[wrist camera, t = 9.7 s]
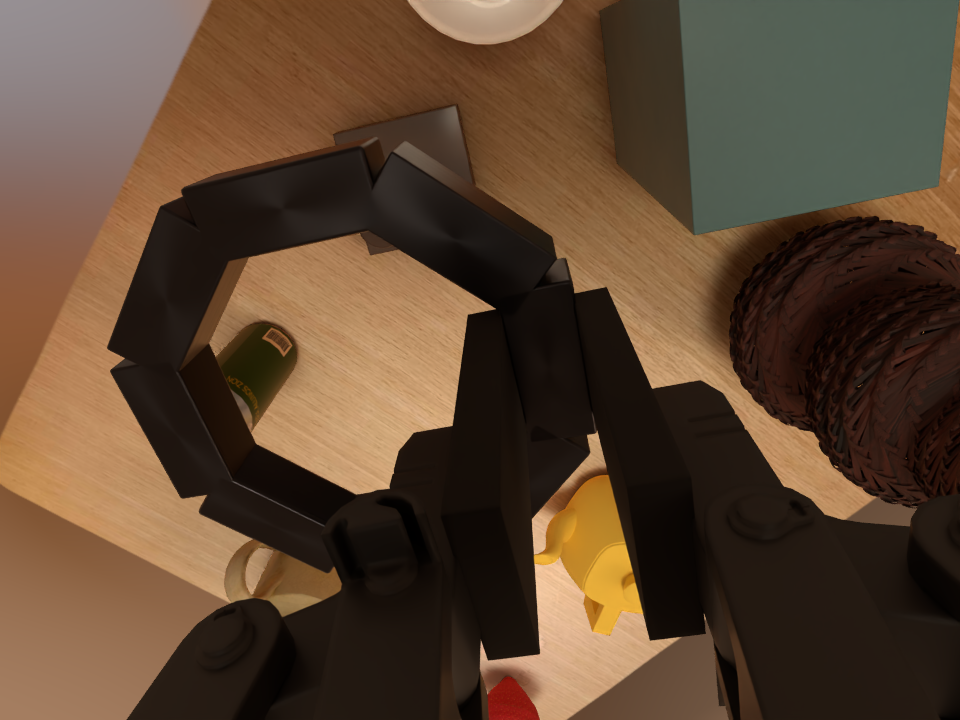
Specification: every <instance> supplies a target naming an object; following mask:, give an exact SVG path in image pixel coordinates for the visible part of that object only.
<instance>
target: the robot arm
mask: <svg viewBox="0 0 960 720" xmlns="http://www.w3.org/2000/svg"><path fill="white" fill-rule="evenodd" d="M575 300H576V303H575V310H576V316H577V322H578V328H579V333H580V339H581V345H582V351H583V357H584V363H585V369H586V374H587V380H588V386H589V392H590V398H591V404H592V410H593V415H594V419H595V423H596V427H597V431H598V435H599V439H600V443H601V447H602V451H603V455H604V459H605V463H606V467H607V471H608V475H609V479H610V483H611V487H612V491H613V495H614V499H615V503H616V507H617V511H618V515H619V519H620V523H621V527H622V531H623V535H624V539H625V543H626V547H627V551H628V555H629V559H630V563H631V567H632V571H633V575H634V579H635V583H636V587H637V591H638V595H639V599H640V603H641V607H642V611H643V615H644V619H645V623H646V627H647V631H648V635H649V639H650V641H651V640H659V639H668V638H676V637H684V636H692V635H700V634H706V632H705V621H704V614H705V617H706V620H707V623H708V626H709V628H710V631H711V634H712V637H713V639H714V651H715V663H716V674H717V686H718V699H719V706H726V710H727V714H728V718H729V720H960V494H955V495H947V496H938V497H936V498H934V499H932V500H929V501H927V502H925V503H923V504H921V505H919V507H918V508H917V510H916V511H915V513H914V515H913V516H912V518H911V524H910V527H908V526H896V525H884V524H871V523H860V522H854V521H847V520H841V519H838V518H834V517H831V516H828V515H824V513H823V512H822V511H821V510H820V509H819V508H818V507H817V506H816V504H815V503H814V502H813V501H812V500H811V499H810V498H808V497H806V496H804V495H802V494H800V493H799V492H797V491H795V490H793V489H791V488H787V487H784V486H783V485H782V483H781V482H780V480H779V479H778V477H777V476H776V474H775V472H774V471H773V469H772V468H771V466H770V465H769V463H768V462H767V460H766V459H765V457H764V456H763V454H762V452H761V451H760V449H759V448H758V446H757V445H756V443H755V442H754V440H753V439H752V437H751V436H750V434H749V433H748V431H747V430H745V428H744V425H743V423H742V422H741V420H740V419H739V417H738V416H737V414H736V415H735V412H734V409H733V408H732V406H731V405H730V403H729V402H728V400H727V399H726V397H725V396H724V394H723V393H722V392H720V391H718V390H717V389H715V388H713V387H711V386H710V385H708V384H706V383H705V382H703V381H701V380H699V381H694V382H688V383H682V384H677V385H671V386H665V387H660V388H654V389H652V388H651V385H650V383H649V381H648V379H647V376H646V374H645V372H644V370H643V367H642V365H641V363H640V361H639V358H638V356H637V354H636V352H635V349H634V347H633V345H632V343H631V341H630V338H629V336H628V334H627V332H626V329H625V327H624V325H623V323H622V320H621V318H620V316H619V314H618V311H617V309H616V307H615V305H614V302H613V300H612V298H611V296H610V293H609V291H608V289H607V287H605V288H600V289H595V290H590V291H585V292H580V293H575ZM320 536H321V538H322V541H323V543H324V545H325V547H326V549H327V552H328V554H329V556H330V558H331V560H332V563H333V565H334V567H335V569H336V572H337V574H338V576H339V578H340V580H341V583H342V585H341V590H340V591H339V592H337V593H336V594H334V595H332V596H330V597H328V598H326V599H324V600H322V601H320V602H318V603H315V604H313V605H311V606H308V607H306V608H303V609H301V610H298V611H296V612H294V613H291V614H289V615H286V616H284V617H282V616H281V614H280V612H279V610H278V609H277V608H276V607H275V606H274V605H273V604H272V603H271V602H270V601H268V600H263V599H258V598H250V599H244V600H239V601H235V602H233V603H231V604H228V605H226V606H224V607H222V608H220V609H217V610H216V611H214V612H213V613H212V614H210V615H209V616H207V617H206V618H205V619H203V620H202V621H201V622H199V623H198V624H197V625H196V626H195V627H194V628H193V629H192V630H191V632H190V633H189V634H188V635H187V636H186V637H185V638H184V639H183V641H182V642H181V643H180V645H179V646H178V647H177V649H176V650H175V652H174V653H173V655H172V656H171V657H170V659H169V660H168V662H167V663H166V665H165V666H164V667H163V669H162V670H161V672H160V673H159V675H158V676H157V677H156V679H155V680H154V682H153V683H152V685H151V686H150V687H149V689H148V690H147V691H146V693H145V695H144V696H143V697H142V699H141V700H140V701H139V703H138V704H137V706H136V707H135V709H134V710H133V712H132V713H131V714H130V716H129V717H128V719H127V720H489V711H488V695H487V691H486V688H485V684H484V681H483V678H482V675H481V672H480V646H481V641H482V644H483V647H484V650H485V653H486V656H487V659H488V660H497V659H505V658H513V657H521V656H529V655H537V654H540V647H539V631H538V615H537V598H536V582H535V566H534V549H533V533H532V517H531V500H530V484H529V468H528V452H527V435H526V423H525V418H524V414H523V410H522V405H521V401H520V397H519V392H518V388H517V384H516V379H515V375H514V371H513V366H512V362H511V358H510V353H509V349H508V345H507V340H506V336H505V332H504V327H503V323H502V319H501V317H500V313H499V310H497V309H495V310H490V311H485V312H480V313H475V314H470V315H468V318H467V325H466V333H465V340H464V347H463V355H462V362H461V369H460V376H459V384H458V391H457V398H456V405H455V413H454V420H453V426H450V427H444V428H438V429H433V430H427V431H421V432H416V433H413V435H412V436H411V437H410V438H409V440H408V441H407V442H406V443H405V444H404V446H403V447H402V448H401V449H400V450H399V452H398V456H397V460H396V464H395V468H394V474H393V475H392V479H391V483H390V489H384V490H377V491H374V492H371V493H368V494H365V495H362V496H359V497H357V498H356V499H354V500H352V501H351V502H349V503H347V504H346V505H344V506H342V507H341V508H340V509H339V510H338V511H337V512H336V513H335V514H334V515H333V516H332V517H331V518H330V519H329V520H328V521H327V523H326V525H325V527H324V529H323V530H322V532H321V534H320Z"/></svg>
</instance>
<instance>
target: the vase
mask: <svg viewBox="0 0 960 720" xmlns="http://www.w3.org/2000/svg"><path fill="white" fill-rule="evenodd" d="M936 239H937V235H936V234H935V233H932V232H928V231H925V232H924V227H922V226H918V225H908V224H906V223H902V222H893V221H892V220H881V221H879V218H878V217H877V216H873V217H866V218H864V219H862V217H859V216H858V217H850V218H847V219H846V220H845V221H842V220H838V221H835V222H833V223H829V224H825V225H823V226H818V225H816V226H814V227H811V228H809V229H807V230H806V233H804V232H798V233H797V234H795V235H794V236H793V237H791V238H790V240H789V242H787V241H784V242H782V243H781V244H780V245H779V246H778V248H777V249H776V250H775V252H771V253H769V254H767V255H766V257H765V258H764V259H763V261H762V262H761V263H758V264H757V265H756V266H755V267H754V268H753V270H752V271H751V273H750V276H749V277H748V278H746V279H745V280H744V282H743V283H742V285H741V287H740V289H739V292H740V293H739V294H738V295H737V296H736V298H735V300H734V311H732V313H731V315H730V322H731V325H730V329H729V338H730V357H731V360H732V361H733V362H734V363H733V368H734V371H735V373H736V374H737V373H738V374H737V375H738V376H739V378H740V379H741V380H740V382H741V384H742V386H743V387H744V388H745V389H746V390H748V392H749V393H750V394H751V395H752V398H753V399H754V400H755V401H756V402H757V403H758V404H759V405H761V406H763V407H764V409H765V410H766V411H767V413H768V414H769V413H770V414H769V415H770V416H772V417H773V418H776V419H779V420H780V421H781V422H782V423H784V424H786V425H789V424H791V425H790V426H795V427H797V428H798V429H800V430H804V431H811V432H813V433H814V434H815V436H816V437H817V439H818V440H819V441H820V442H819V447H820V449H821V451H822V452H823V453H824V454H825V455H826V456H828V457H829V460H830V462H831V464H832V466H833V467H834V468H835V466H838V468H835V469H837V470H838V471H839V472H842V474H843V475H844V476H845V477H846V478H847V479H848V480H849V481H851V482H852V483H854V484H855V485H857V486H859V485H860V486H859V487H862V488H863V490H864V491H865V492H866V493H868V494H870V495H872V496H876V497H880V498H881V500H883V501H885V502H887V503H891V504H902V505H903V506H906V507H909V508H913V507H910V506H917V507H916V508H918V507H919V505H921V504H923V503H925V502H927V501H929V500H932V499H934V498H936V497H938V496H947V495H955V494H960V255H959V254H955V252H956V248H955V247H952V246H950V245H946V244H945V243H944V242H943V241H939V240H936ZM843 246H848V247H843ZM815 253H816V254H815ZM812 254H814V255H812ZM836 254H837V255H836ZM834 255H835V256H834ZM926 266H927V267H926ZM848 270H849V272H848ZM853 270H854V271H853ZM787 275H788V276H787ZM837 275H838V276H837ZM785 276H787V277H786V278H785ZM851 281H852V283H850V282H851ZM844 284H845V286H844ZM781 289H782V290H781ZM780 290H781V291H780ZM774 294H775V296H774ZM800 295H801V296H800ZM779 300H780V301H779ZM778 301H779V302H778ZM836 301H837V302H836ZM735 302H736V304H735ZM835 302H836V303H835ZM774 305H775V307H774ZM923 331H924V333H923ZM922 333H923V334H922ZM754 345H755V347H754ZM756 369H757V370H756ZM860 385H861V386H860ZM858 386H860V387H858ZM906 458H907V459H906ZM836 461H837V462H838V463H837V462H836ZM834 465H835V466H834ZM861 469H862V470H861ZM892 502H897V503H892ZM909 502H910V503H911V504H910V503H909ZM912 502H915V503H914V504H912Z"/></svg>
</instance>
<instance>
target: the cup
mask: <svg viewBox="0 0 960 720" xmlns="http://www.w3.org/2000/svg"><path fill="white" fill-rule="evenodd" d="M407 1H408V2H409V4H410V5H411V6H412V7H413V9H414V10H415V11H416V12H417V13H418V14H419V15H420V16H421V17H422V19H423V20H425V21H426V22H427V23H429V24H430V25H431V26H432V27H434V28H435V29H436V30H438V31H439V32H441V33H443V34H445V35H447V36H449V37H451V38H454V39H456V40H459V41H463V42H467V43H472V44H498V43H502V42H507V41H512V40H514V39H516V38H518V37H521V36H523V35H525V34H527V33H529V32H531V31H532V30H534V29H535V28H536V27H538V26H539V25H540V24H542V23H543V22H545V21H546V20H547V19H548V18H549V17H550V16H551V14H552V13H553V12H554V11H555V10H556V9H557V8H558V7H559V6H560V5H561V3H562V2H563V0H407Z"/></svg>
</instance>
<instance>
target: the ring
mask: <svg viewBox="0 0 960 720" xmlns="http://www.w3.org/2000/svg"><path fill="white" fill-rule="evenodd" d="M181 193H182V195H183V197H181V198H178V199H176V200H174V201H171V202H169V203H167V204H164V205H162V206H161V207H160V208H159V210H158V213H157V216H156V218H155V221H154V224H153V226H152V229H151V232H150V234H149V237H148V240H147V242H146V245H145V248H144V250H143V253H142V256H141V258H140V261H139V264H138V266H137V269H136V272H135V274H134V277H133V280H132V282H131V285H130V288H129V290H128V293H127V296H126V298H125V301H124V304H123V306H122V309H121V312H120V314H119V317H118V320H117V322H116V325H115V328H114V330H113V333H112V336H111V338H110V341H109V344H108V346H107V349H108V350H110V351H112V352H114V353H116V354H118V355H120V356H122V357H124V358H125V359H124V360H123V361H121V362H120V363H119V364H118V365H116V366H115V367H114V368H112V369H111V370H110V372H111V374H112V376H113V378H114V380H115V382H116V383H117V385H118V387H119V389H120V390H121V392H122V394H123V396H124V398H125V399H126V401H127V403H128V405H129V407H130V408H131V410H132V412H133V414H134V415H135V417H136V419H137V421H138V423H139V424H140V426H141V428H142V430H143V432H144V433H145V435H146V437H147V439H148V440H149V442H150V444H151V446H152V448H153V449H154V451H155V453H156V455H157V457H158V458H159V460H160V462H161V464H162V465H163V467H164V469H165V471H166V473H167V474H168V476H169V478H170V480H171V482H172V483H173V485H174V487H175V489H176V490H177V492H178V494H179V496H180V497H181V498H182V499H184V498H190V497H196V496H203V495H207V496H206V498H205V500H204V501H203V503H202V505H201V507H200V509H199V513H200V514H201V515H203V516H205V517H207V518H209V519H212V520H214V521H216V522H218V523H220V524H222V525H224V526H226V527H229V528H231V529H233V530H235V531H237V532H239V533H241V534H243V535H246V536H248V537H250V538H252V539H254V540H256V541H258V542H260V543H263V544H265V545H267V546H269V547H271V548H273V549H275V550H277V551H280V552H282V553H284V554H286V555H288V556H290V557H292V558H294V559H297V560H299V561H301V562H303V563H305V564H307V565H309V566H311V567H314V568H316V569H318V570H320V571H322V572H324V573H327V574H328V573H330V572H331V571H332V569H333V568H334V565H333V563H332V560H331V558H330V556H329V554H328V552H327V549H326V547H325V545H324V543H323V541H322V538H321V536H320V534H321V532H322V530H323V529H324V527H325V525H326V523H327V521H328V520H329V519H330V518H331V517H332V516H333V515H334V514H335V513H336V512H337V511H338V510H339V509H340V508H341V507H342V506H344V505H346V504H347V503H349V502H351V501H352V500H354V499H356V498H357V497H359V496H362V495H365V494H368V493H364V494H357V495H356V494H354V493H352V492H350V491H348V490H346V489H344V488H342V487H340V486H338V485H336V484H334V483H332V482H330V481H328V480H326V479H324V478H322V477H320V476H318V475H316V474H315V473H313V472H311V471H309V470H307V469H305V468H303V467H301V466H299V465H297V464H295V463H293V462H291V461H289V460H287V459H285V458H283V457H281V456H279V455H277V454H275V453H273V452H271V451H269V450H267V449H265V448H263V447H261V446H259V445H257V444H256V443H255V440H254V438H253V436H252V434H251V432H250V430H249V428H248V425H247V423H246V421H245V419H244V417H243V415H242V413H241V411H240V408H239V406H238V404H237V402H236V400H235V398H234V396H233V393H232V391H231V389H230V387H229V385H228V383H227V381H226V378H225V376H224V374H223V372H222V370H221V368H220V366H219V363H218V361H217V359H216V357H215V355H214V353H213V351H212V348H211V346H210V344H209V342H210V340H211V338H212V336H213V333H214V331H215V329H216V327H217V325H218V323H219V321H220V318H221V316H222V314H223V312H224V310H225V308H226V306H227V303H228V301H229V299H230V297H231V295H232V293H233V290H234V288H235V286H236V284H237V282H238V280H239V278H240V275H241V273H242V271H243V269H244V267H245V265H246V263H247V260H248V258H249V257H253V256H257V255H262V254H266V253H271V252H276V251H280V250H285V249H289V248H294V247H299V246H303V245H308V244H313V243H317V242H322V241H326V240H331V239H336V238H340V237H345V236H349V235H354V234H359V233H363V232H368V231H369V232H371V233H373V234H374V235H376V236H378V237H379V238H381V239H383V240H384V241H386V242H388V243H389V244H391V245H392V246H394V247H396V248H397V249H399V250H401V251H402V252H404V253H406V254H407V255H409V256H410V257H412V258H414V259H415V260H417V261H419V262H420V263H422V264H424V265H425V266H427V267H428V268H430V269H432V270H433V271H435V272H437V273H438V274H440V275H442V276H443V277H445V278H447V279H448V280H450V281H451V282H453V283H455V284H456V285H458V286H460V287H461V288H463V289H465V290H466V291H468V292H469V293H471V294H473V295H474V296H476V297H478V298H479V299H481V300H483V301H484V302H486V303H487V304H489V305H491V306H492V307H494V308H496V309H497V310H499V313H500V317H501V319H502V323H503V327H504V332H505V336H506V340H507V345H508V349H509V353H510V358H511V362H512V366H513V371H514V375H515V379H516V384H517V388H518V392H519V397H520V401H521V405H522V410H523V414H524V418H525V423H526V435H527V452H528V468H529V484H530V500H531V517H532V518H533V517H534V516H535V515H536V514H537V512H538V511H539V510H540V509H541V508H542V507H543V506H544V505H545V504H546V502H547V501H548V500H549V499H550V498H551V497H552V496H553V495H554V493H555V492H556V491H557V490H558V489H559V488H560V487H561V486H562V484H563V483H564V482H565V481H566V480H567V479H568V478H569V477H570V476H571V474H572V473H573V472H574V471H575V470H576V469H577V468H578V467H579V465H580V464H581V463H582V462H583V461H584V460H585V459H586V458H587V457H588V455H589V454H590V448H589V443H588V438H587V435H589V434H595V433H596V432H597V427H596V423H595V419H594V415H593V410H592V404H591V398H590V392H589V386H588V380H587V374H586V369H585V363H584V357H583V351H582V345H581V339H580V333H579V328H578V322H577V316H576V310H575V303H576V300H575V293H574V287H573V282H572V278H571V274H570V270H569V266H568V263H567V260H566V258H560V259H557V256H556V252H555V247H554V243H553V238H552V236H550V235H549V234H547V233H546V232H544V231H543V230H541V229H540V228H538V227H537V226H535V225H534V224H532V223H531V222H529V221H528V220H526V219H524V218H523V217H521V216H520V215H518V214H517V213H515V212H514V211H512V210H511V209H509V208H508V207H506V206H505V205H503V204H502V203H500V202H498V201H497V200H495V199H494V198H492V197H491V196H489V195H488V194H486V193H485V192H483V191H482V190H480V189H479V188H477V187H476V186H474V185H472V184H471V183H469V182H468V181H466V180H465V179H463V178H462V177H460V176H459V175H457V174H456V173H454V172H453V171H451V170H450V169H448V168H447V167H445V166H443V165H442V164H440V163H439V162H437V161H436V160H434V159H433V158H431V157H430V156H428V155H427V154H425V153H424V152H422V151H421V150H419V149H417V148H416V147H414V146H413V145H411V144H410V143H408V142H407V141H404V142H403V143H401V144H400V145H399V146H398V147H396V148H395V149H394V150H393V151H391V152H390V154H389V156H388V158H387V160H386V161H385V158H384V154H383V151H382V147H381V144H380V140H379V139H378V137H374V136H373V137H369V138H365V139H361V140H357V141H353V142H348V143H344V144H340V145H336V146H332V147H328V148H324V149H319V150H315V151H311V152H307V153H303V154H299V155H294V156H290V157H286V158H282V159H278V160H274V161H269V162H265V163H261V164H257V165H253V166H249V167H244V168H240V169H236V170H232V171H228V172H224V173H219V174H216V175H213V176H211V177H208V178H206V179H203V180H201V181H198V182H196V183H193V184H191V185H188V186H186V187H184V188H183V189H182V190H181ZM370 493H371V492H370Z"/></svg>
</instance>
